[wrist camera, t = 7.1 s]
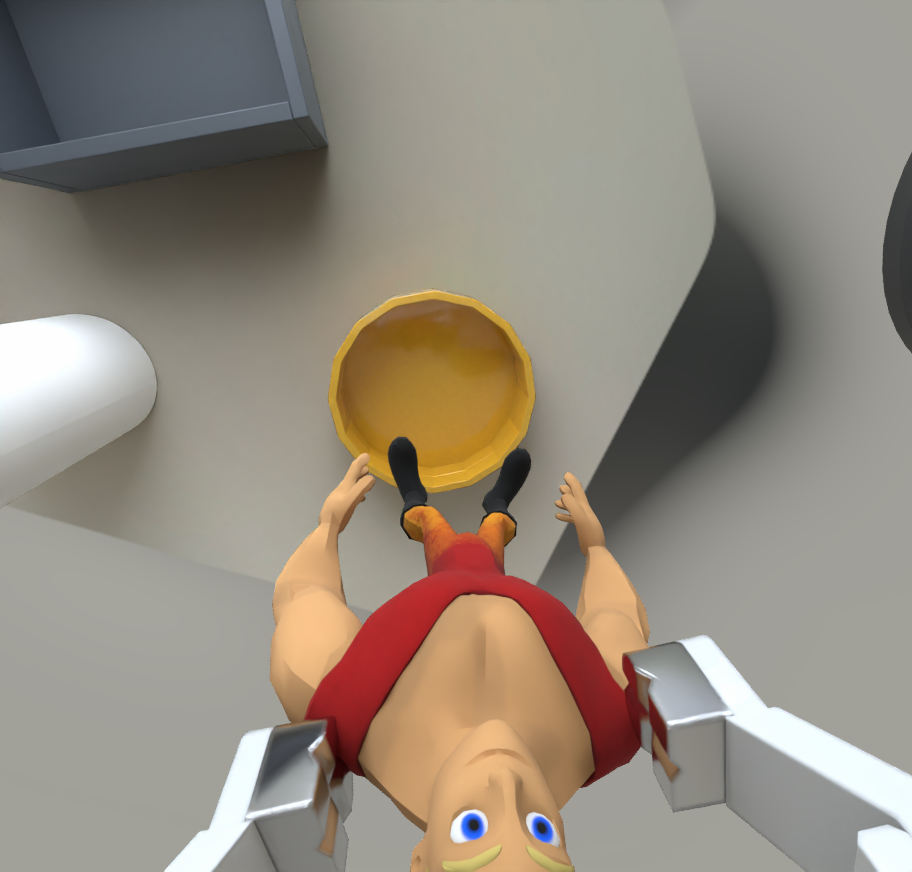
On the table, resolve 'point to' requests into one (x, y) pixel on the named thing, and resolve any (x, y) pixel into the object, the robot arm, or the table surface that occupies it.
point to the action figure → (464, 674)
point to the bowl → (433, 387)
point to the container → (149, 88)
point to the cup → (66, 395)
